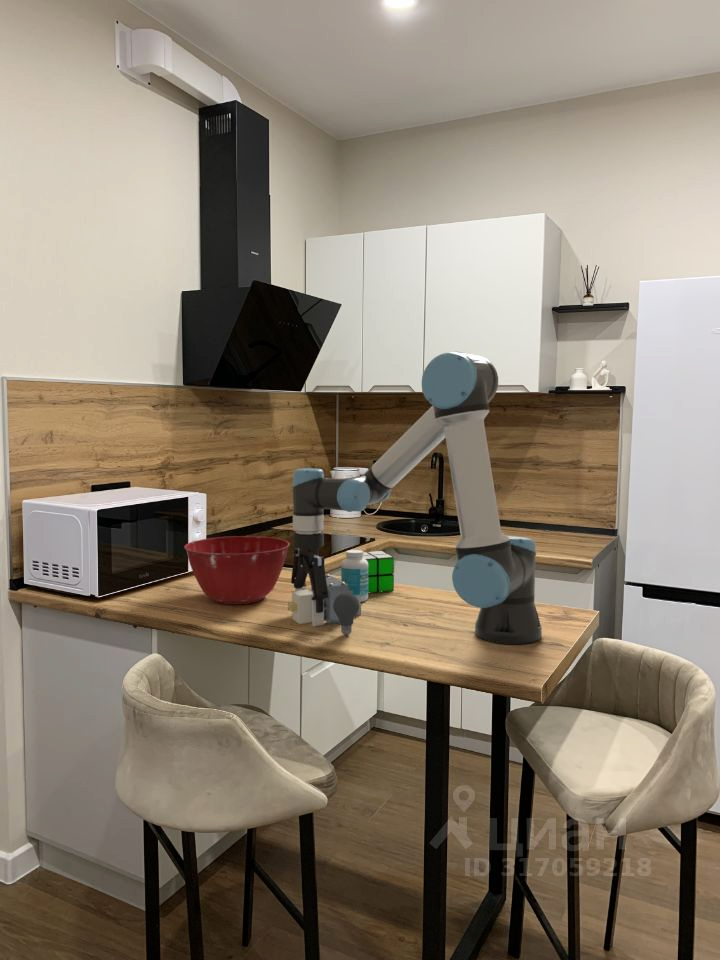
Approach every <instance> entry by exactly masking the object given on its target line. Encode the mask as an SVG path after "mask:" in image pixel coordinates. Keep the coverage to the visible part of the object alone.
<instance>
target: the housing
mask: <svg viewBox="0 0 720 960" xmlns="http://www.w3.org/2000/svg"><path fill="white" fill-rule="evenodd" d="M325 575H326V582H327V590H328V598H325V599H324V608H325V607H326V609H327V618H326V623H328V624H329V625H333V624H340V623H339V619H338V616H337V615H336V613H335V612H334V609H333V603H334V600H335V598H336V597H337V596H338V595H340V594H342V593H348V584H346V583H345V582H342V581H341V580H340V579H337V578H336V577H334V576H332V575H331V574H329V573H327V574H326V573H325ZM310 589H311V590H312V587H311V588H310Z"/></svg>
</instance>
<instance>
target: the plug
mask: <svg viewBox="0 0 720 960" xmlns="http://www.w3.org/2000/svg"><path fill="white" fill-rule="evenodd" d="M312 597H314V595H313V591H312V590H311V588H310V589H307V588H306V590H299V591H295V590H292V591H291V601H289V602H287V609H288V611H290V612H291V619H292V620H293V621H294V622H296V623H297V624H299V625H302V624H309V623H312V599H311V598H312ZM361 615H362V602H359V610H358V613H357V614H356V616H361ZM325 619H326V620H327V609H326V607H325V608H324V620H325Z"/></svg>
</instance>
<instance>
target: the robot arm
mask: <svg viewBox="0 0 720 960" xmlns="http://www.w3.org/2000/svg"><path fill="white" fill-rule="evenodd" d="M498 388H499V376H498V372H497V369H496V368H495V366H494V364H493V363H492V362H491V361H490V360H488V359H487V358H485V357H483V356H481V355H476V354H469V353H468V354H467V353H464V352H462V351H461V352H460V351H453V352H451V351H450V352H444V353H441V354H439V355H437V356H435V357H434V358H432V359H431V360H430V361H429V363H428V364H427V365H426V367H425V369H424V371H423V373H422V376H421V390H422V393H423V396H424V398H425V400H427V401H428V402H429V404H430V405H432V406H430V408H429V409H428V410H426V411H425V413H424V414H423V415H422V416H421V417H420V418H418V419H417V420H416V421H415V422H414V423H413V425H412V426H410V427H409V428H408V429H407V430H406V432H404V433H403V435H402V436H401V437H399V438H398V439H397V441H396V442H394V443H393V444H392V446H390V447H389V448H388V450H387V451H385V453H383V454H382V456H380V458H378V459H377V460H376V462H374V463H373V464H372V466H371V467H369V468H368V469H367V470H366V472H364V473H363V474H362V475H358V476H357V475H356V476H353V477H347V478H346V477H345V478H333V477H332V478H330V477H329V478H328V477H325V475H324V474H325V473H324V471H323V469H321V468H313V467H311V468H308V467H306V468H297V469H295V470H294V471H293V473H292V475H293V477H292V478H293V479H292V502H293V503H292V505H293V506H292V507H293V510H292V512H293V513H292V530H293V531H294V532H293V534H292V535H293V538H292V539H293V540H292V543H293V544H292V545H293V561H292V571H291V577H290V578H291V579H290V583H291V585H293V587H294V591H299V590H307V588H306V587H307V586H308V585H307V583H306V581H307V577H309V581H310V585H311V587H312V591H313V595H314V597H312V598H311V599H312V622H311V623H312V626H313V627H318V626H323V625H325V619H324V599H325V598H328V590H327V582H326V569H325V556H319V549H321V548H323V547H324V545H325V533H324V532H323V531H324V528H325V526H324V524H325V523H324V521H325V520H326V517H325V516H324V511H325V510H335V511H342V512H344V511H345V512H348V513H352V512H362V511H364V510H365V509H366V507H368V506H370V505H377V504H380V503H382V502H384V501H386V500H387V499H388V498H389V497H390V495H391V493H392V489H393V488H394V487H395V486H396V485H397V484H398V483H399V482H400V481H401V480H402V479H404V477H405V476H407V475H408V474H409V473H410V472H411V470H413V469H414V468H415V467H416V466H417V465H418V464H419V463H420V462H421V461H422V460H423V459H424V458H425V457H427V456H428V455H429V453H431V452H432V451H433V450H434V449H435V448H436V447H438V445H439V444H440V443H441V442H442V441H443V440H444V439H445V443H446V450H447V456H448V461H449V469H450V475H451V481H452V487H453V495H454V501H455V506H456V513H457V514H456V515H457V519H458V525H459V526H458V527H459V533H460V538H459V539H458V541H457V542H456V544H455V552H456V558H457V559H456V560H457V562H456V564H455V566H454V568H453V571H452V576H451V580H452V581H451V582H452V585H453V589H454V590H455V592H456V594H457V595H458V597H459V598H460V599H462V600H463V601H464V602H465V603H467V604H468V605H470V606H472V607H475V608H479V611H478V614H477V615H478V616H477V619H476V620H475V624H474V631H475V632H474V633H475V635H476V636H477V637H479V639H482V640H485V641H487V642H491V643H497V644H503V645H521V644H522V645H523V644H532V643H534V642H537V641H540V639H542V635H543V634H542V631H543V630H542V624H541V620H540V618H539V615H538V611H537V610H538V609H537V607H536V603H535V594H536V593H535V592H536V591H535V588H536V556H537V551H536V543H535V540H533V539H531V538H529V537H524V536H523V537H522V536H511V535H506V534H505V533H504V532H503V531H502V529H501V522H500V517H499V516H500V515H499V509H498V502H497V498H496V490H495V483H494V479H493V472H492V467H491V466H492V465H491V458H490V453H489V446H488V441H487V433H486V427H485V418H486V417H488V414H489V413H490V406H489V403H490V402H491V401H492V400H493V399H494V397H495V395H496V394H497V391H498Z"/></svg>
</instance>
